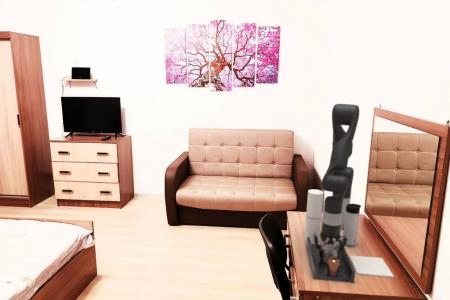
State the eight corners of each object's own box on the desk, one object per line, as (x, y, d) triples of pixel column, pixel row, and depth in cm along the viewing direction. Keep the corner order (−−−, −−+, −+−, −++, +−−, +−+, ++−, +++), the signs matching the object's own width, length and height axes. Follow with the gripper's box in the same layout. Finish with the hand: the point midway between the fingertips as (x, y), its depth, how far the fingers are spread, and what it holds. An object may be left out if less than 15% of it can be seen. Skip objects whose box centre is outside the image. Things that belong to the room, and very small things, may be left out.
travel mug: (357, 247, 155) (362, 207, 151) (343, 245, 156) (347, 206, 152) (355, 241, 161) (359, 203, 157) (341, 239, 162) (345, 201, 158)
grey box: (320, 250, 145) (321, 241, 144) (332, 251, 145) (333, 242, 144) (324, 261, 137) (325, 251, 136) (336, 262, 136) (337, 252, 135)
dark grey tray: (306, 246, 155) (307, 231, 153) (339, 249, 153) (341, 234, 151) (313, 278, 130) (315, 261, 128) (353, 282, 128) (355, 265, 126)
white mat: (349, 256, 147) (349, 255, 147) (381, 259, 145) (382, 258, 145) (357, 274, 133) (357, 273, 133) (393, 277, 132) (393, 276, 131)
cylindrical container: (303, 241, 160) (307, 193, 154) (305, 235, 166) (309, 188, 161) (318, 244, 157) (322, 195, 152) (320, 238, 163) (324, 190, 158)
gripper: (347, 218, 140) (343, 254, 144) (312, 216, 142) (310, 252, 145) (351, 226, 133) (347, 264, 136) (315, 223, 134) (312, 261, 138)
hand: (328, 257), depth 141 cm, fingers closed on grey box, 5 cm apart
